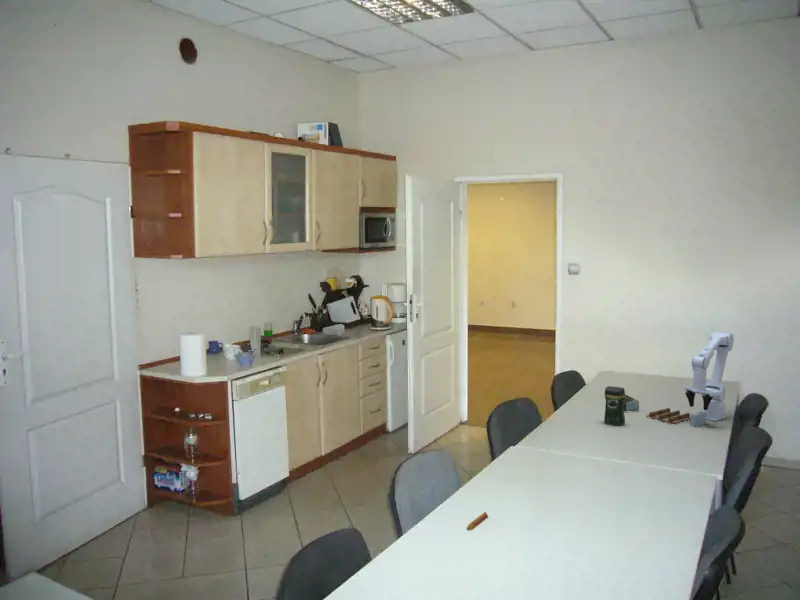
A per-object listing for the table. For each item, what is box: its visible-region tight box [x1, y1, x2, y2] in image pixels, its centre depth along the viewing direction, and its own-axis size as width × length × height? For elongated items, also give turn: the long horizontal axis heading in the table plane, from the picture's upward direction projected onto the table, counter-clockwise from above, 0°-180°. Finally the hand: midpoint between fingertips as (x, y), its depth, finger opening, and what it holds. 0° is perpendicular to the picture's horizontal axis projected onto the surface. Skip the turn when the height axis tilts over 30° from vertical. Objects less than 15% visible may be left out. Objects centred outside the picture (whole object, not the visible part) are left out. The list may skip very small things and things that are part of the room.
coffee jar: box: [603, 385, 626, 426], centre depth 340 cm, size 10×8×19 cm
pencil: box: [466, 511, 489, 531], centre depth 230 cm, size 3×12×2 cm, turn 146°
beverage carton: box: [624, 394, 640, 412], centre depth 370 cm, size 8×19×7 cm, turn 12°
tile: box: [689, 410, 707, 428], centre depth 336 cm, size 9×2×6 cm, turn 122°
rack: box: [645, 407, 691, 425], centre depth 347 cm, size 15×16×3 cm
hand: (698, 408), depth 335 cm, fingers open, 7 cm apart
